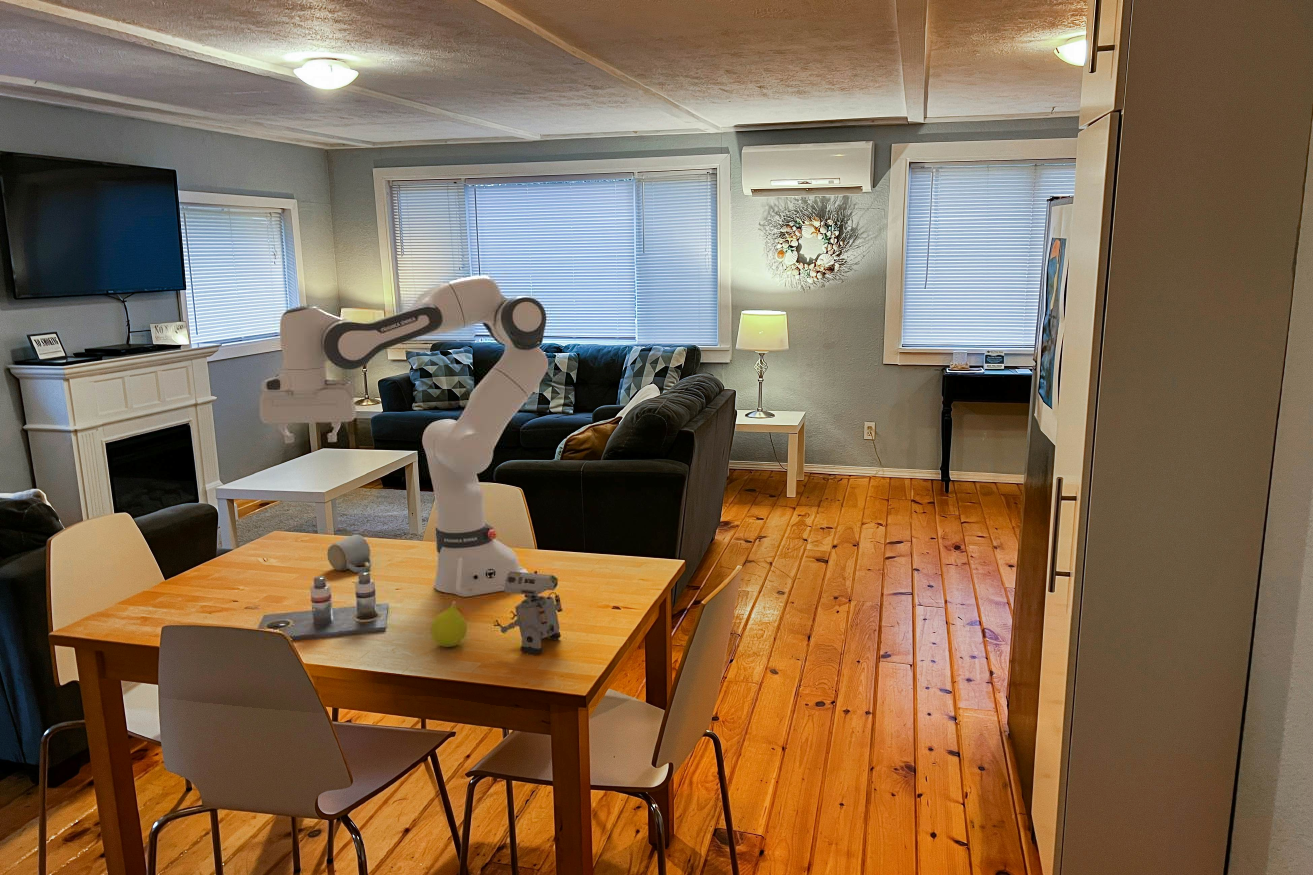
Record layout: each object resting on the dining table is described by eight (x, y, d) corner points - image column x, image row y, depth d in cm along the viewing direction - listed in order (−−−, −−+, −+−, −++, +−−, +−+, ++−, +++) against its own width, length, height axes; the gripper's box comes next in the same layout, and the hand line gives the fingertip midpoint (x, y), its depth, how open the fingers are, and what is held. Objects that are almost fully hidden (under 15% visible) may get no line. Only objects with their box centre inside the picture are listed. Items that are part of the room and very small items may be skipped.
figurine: (517, 632, 192) (514, 563, 189) (567, 639, 188) (565, 569, 185) (494, 649, 184) (491, 577, 181) (546, 657, 180) (543, 584, 177)
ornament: (471, 638, 190) (468, 591, 188) (463, 652, 183) (460, 604, 181) (436, 638, 190) (433, 592, 188) (427, 652, 183) (424, 604, 181)
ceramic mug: (326, 569, 234) (323, 540, 232) (352, 560, 241) (350, 531, 239) (354, 577, 228) (352, 547, 227) (380, 567, 235) (378, 538, 233)
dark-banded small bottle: (377, 611, 202) (374, 569, 200) (376, 618, 198) (373, 575, 196) (358, 613, 201) (354, 571, 199) (356, 620, 197) (353, 577, 195)
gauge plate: (388, 607, 207) (388, 602, 207) (385, 631, 194) (384, 625, 194) (264, 619, 202) (263, 614, 201) (252, 644, 188) (251, 639, 188)
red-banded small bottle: (334, 616, 200) (330, 574, 198) (332, 623, 196) (328, 580, 194) (314, 617, 199) (310, 575, 197) (311, 625, 195) (307, 582, 193)
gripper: (357, 377, 208) (362, 438, 210) (264, 379, 207) (270, 440, 209) (349, 381, 201) (354, 443, 204) (253, 383, 201) (259, 445, 203)
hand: (311, 442), depth 207 cm, fingers open, 8 cm apart
